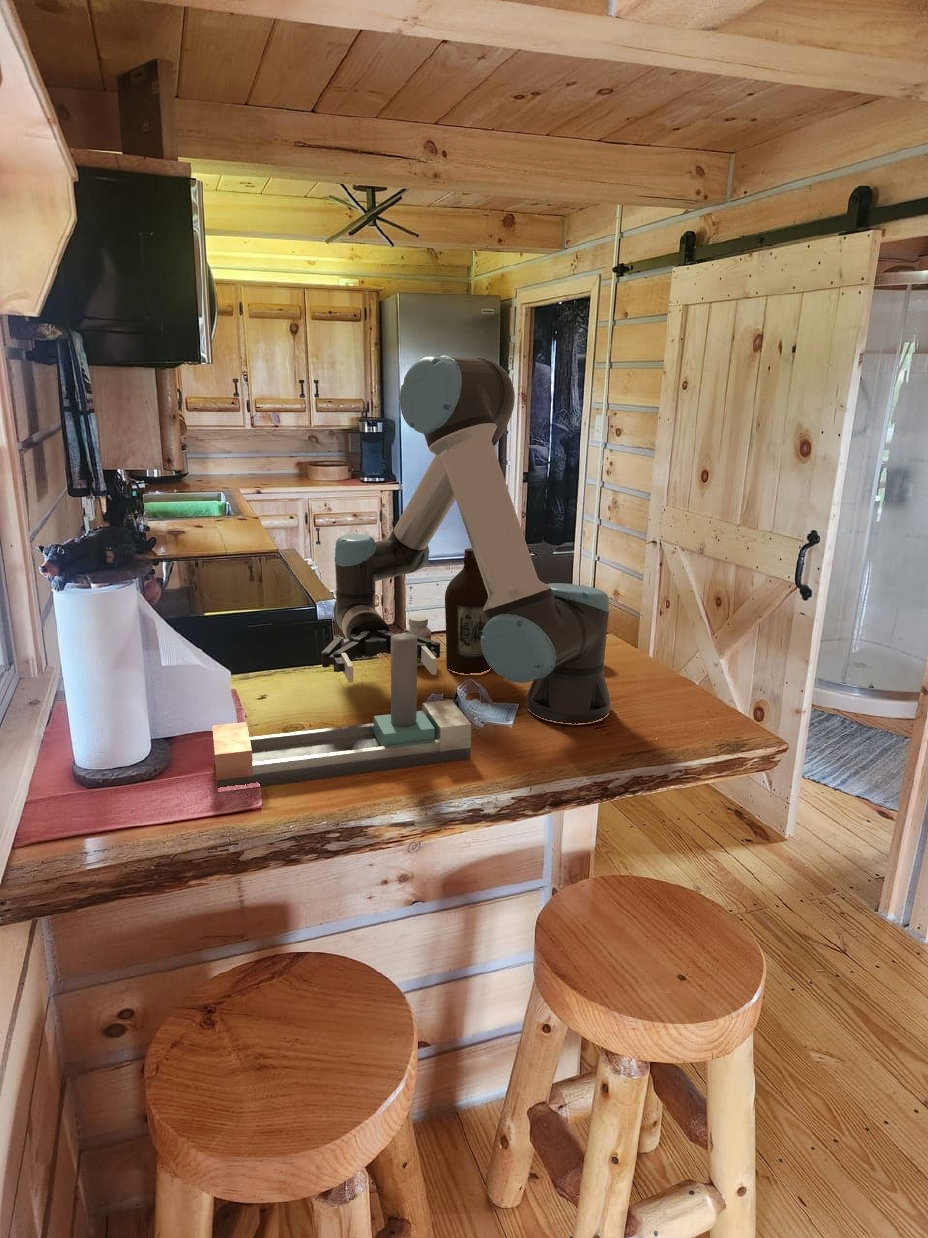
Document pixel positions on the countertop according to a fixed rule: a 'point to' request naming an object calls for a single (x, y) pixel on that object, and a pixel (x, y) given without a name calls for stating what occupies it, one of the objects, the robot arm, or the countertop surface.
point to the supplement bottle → (419, 629)
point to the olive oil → (466, 618)
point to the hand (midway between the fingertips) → (393, 670)
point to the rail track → (334, 750)
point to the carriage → (403, 698)
